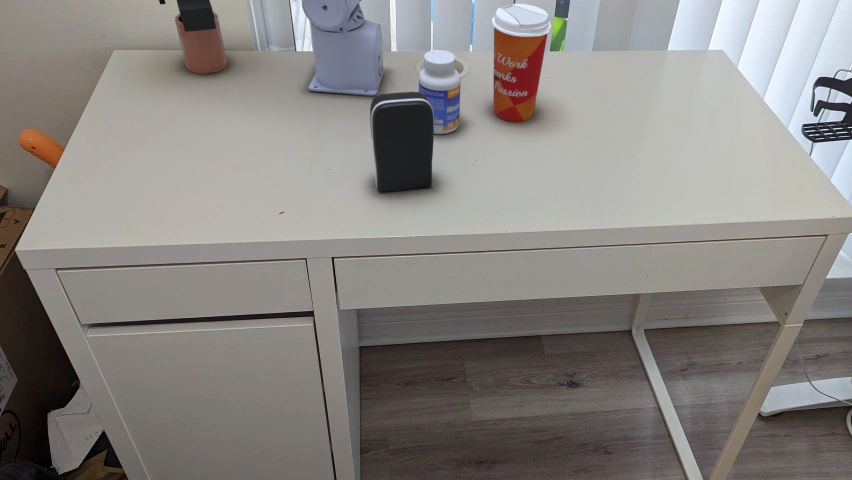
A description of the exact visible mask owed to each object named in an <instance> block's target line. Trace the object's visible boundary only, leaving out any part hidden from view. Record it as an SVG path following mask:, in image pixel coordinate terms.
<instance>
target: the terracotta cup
mask: <svg viewBox="0 0 852 480" xmlns="http://www.w3.org/2000/svg"><path fill="white" fill-rule="evenodd" d="M213 15H214V20H215V25H216V29H210V30H200V31H190V32H185V30H184V26H183V23H182V19H181V15H180V13H178V14H177V15H176V16H174V21H175V27H176V31H177V35H178V39H179V42H180V47H181V51H182V54H183V60H184V64H185V67H186V69H187V70H188V71H189V72H192V73H194V74H200V75H205V74H207V75H209V74H214V73H218V72H220V71H223V70H224V69H225V68H226V67H227V66H228V61H227V56H226V51H225V46H224V41H223V35H222V30H221V25H220V20H219V15H218V14H217V13H216V12H214V11H213Z"/></svg>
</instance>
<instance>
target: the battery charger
mask: <svg viewBox="0 0 852 480" xmlns="http://www.w3.org/2000/svg"><path fill="white" fill-rule="evenodd" d="M369 117H370V118H369V119H370V120H369V121H370V137H371V142H372V151H373V152H372V153H373V160H374V168H375V169H374V170H375V187H376V189H377V190H378V191H379V192H391V191H392V192H393V191H402V190H403V191H404V190H412V189H420V188H426V187H431V186H432V185H433V156H434V139H435V138H434V137H435V133H434V114H433V109H432V106H431V104H430V103H429V101H428V99H427V98H426V96H425V95H424V94H422V93H420V92H419V91H401V92H389V93H381V94H378V95H375V96H374V97H373V99H372V101H371V103H370V107H369Z"/></svg>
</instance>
